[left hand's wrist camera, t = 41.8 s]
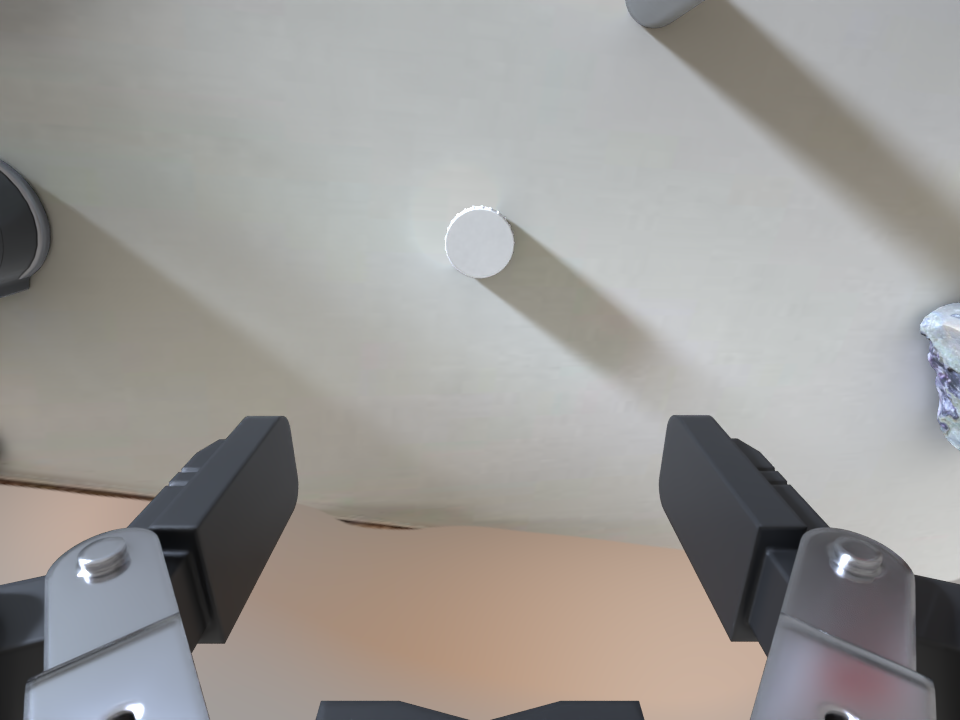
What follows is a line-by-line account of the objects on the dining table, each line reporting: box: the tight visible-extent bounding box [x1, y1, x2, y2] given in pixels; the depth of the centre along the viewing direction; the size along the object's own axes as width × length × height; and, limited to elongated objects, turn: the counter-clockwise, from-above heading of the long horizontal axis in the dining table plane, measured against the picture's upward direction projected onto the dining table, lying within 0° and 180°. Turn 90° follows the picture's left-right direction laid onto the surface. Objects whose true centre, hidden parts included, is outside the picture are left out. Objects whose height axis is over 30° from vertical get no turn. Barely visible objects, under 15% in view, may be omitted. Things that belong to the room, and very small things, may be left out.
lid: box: [445, 205, 515, 278], centre depth 37 cm, size 5×5×2 cm
